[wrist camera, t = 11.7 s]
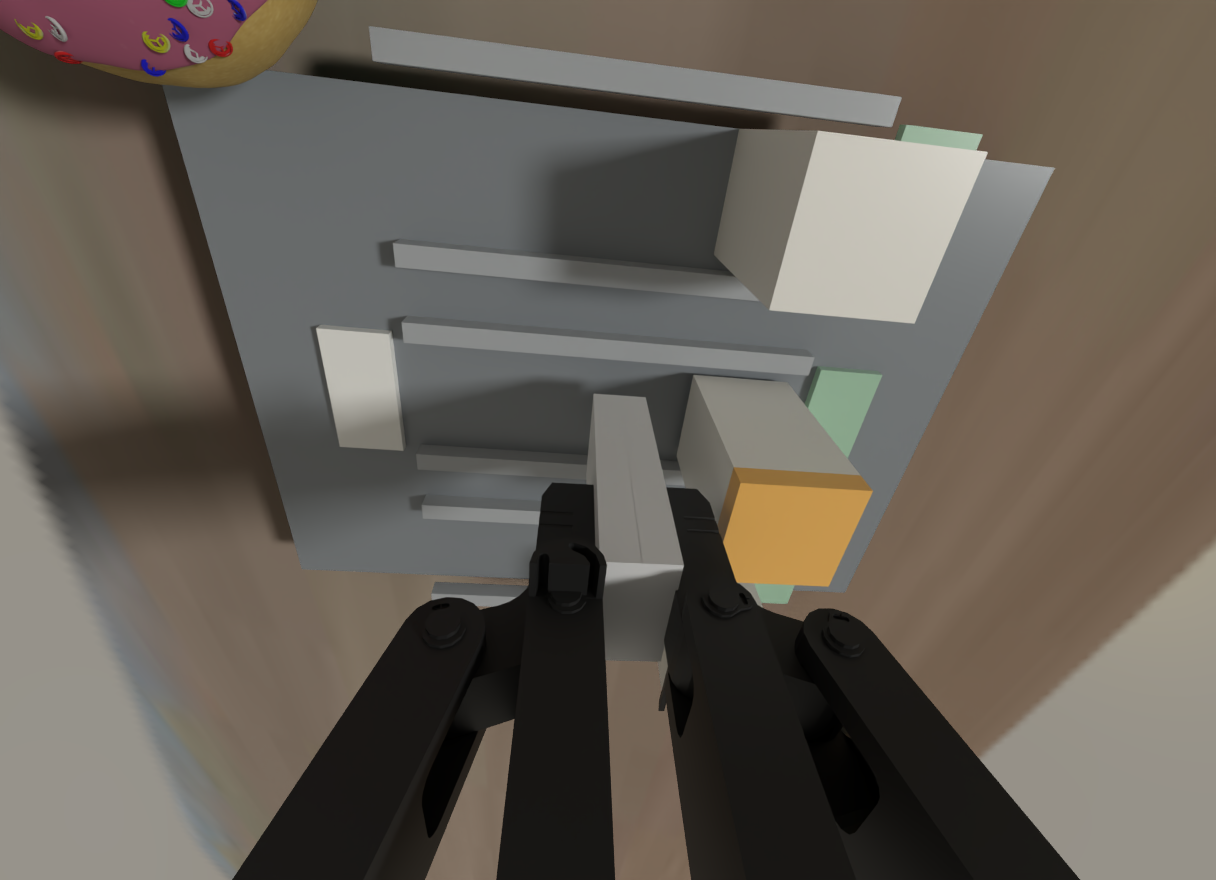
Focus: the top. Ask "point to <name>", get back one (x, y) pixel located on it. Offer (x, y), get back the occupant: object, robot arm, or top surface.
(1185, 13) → the top surface
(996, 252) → the panel
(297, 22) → the cupcake
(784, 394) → the breaker handle
